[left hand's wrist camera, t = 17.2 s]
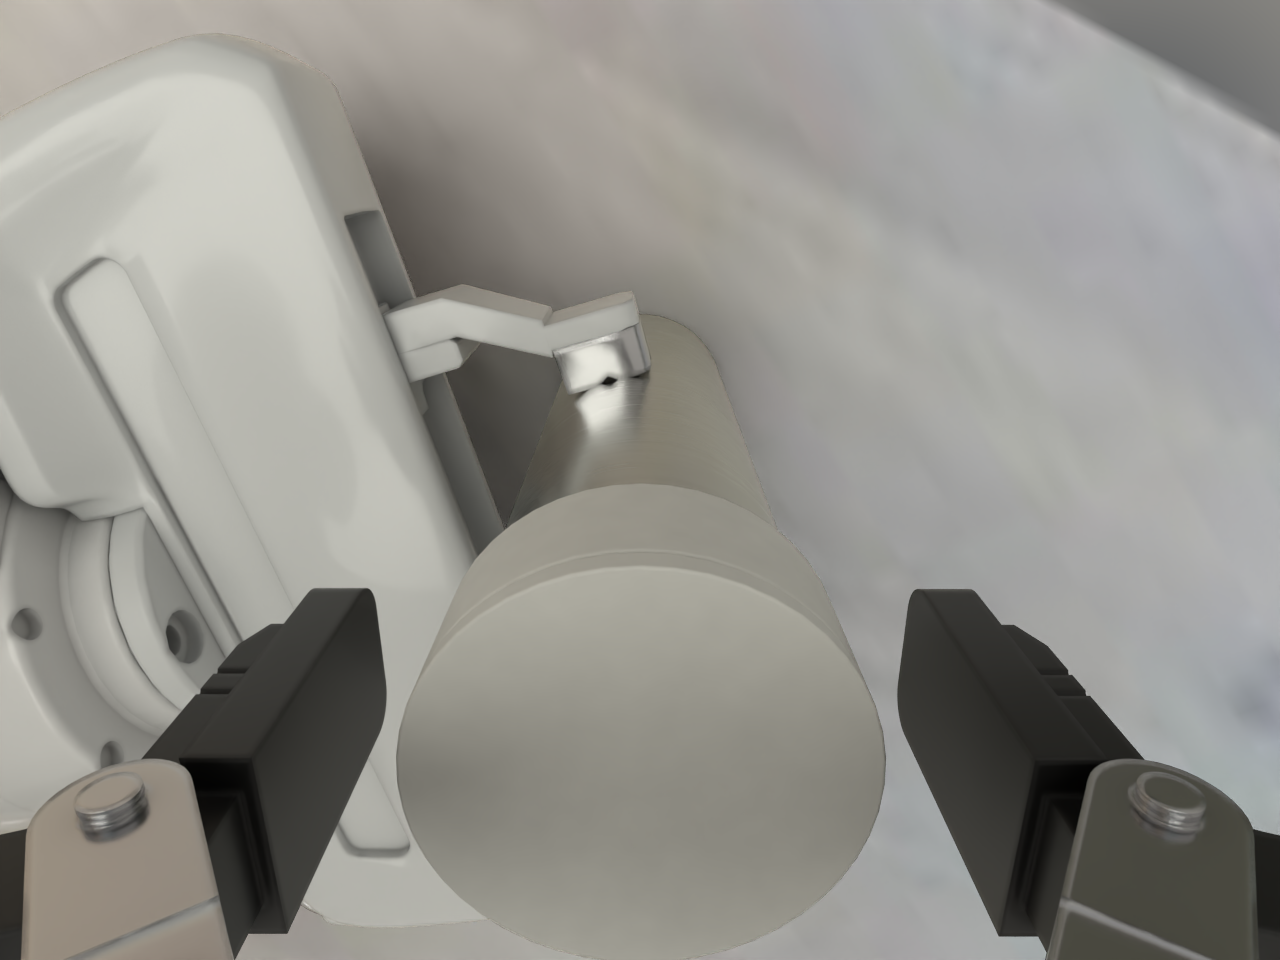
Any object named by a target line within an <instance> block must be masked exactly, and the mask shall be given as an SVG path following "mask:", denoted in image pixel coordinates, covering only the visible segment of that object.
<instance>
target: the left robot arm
mask: <svg viewBox="0 0 1280 960" xmlns="http://www.w3.org/2000/svg"><path fill="white" fill-rule="evenodd" d="M897 698H898V711H899V717H900V722H901V726H902V729H903V732H904V734H905V737H906V739H907V741H908V743H909V745H910V747H911V750H912V752H913V754H914V756H915V758H916V760H917V762H918V764H919V767H920V769H921V771H922V773H923V775H924V777H925V779H926V782H927V784H928V786H929V788H930V790H931V792H932V794H933V797H934V799H935V801H936V803H937V805H938V807H939V809H940V811H941V814H942V816H943V818H944V820H945V822H946V824H947V826H948V829H949V831H950V833H951V835H952V837H953V839H954V841H955V844H956V846H957V848H958V850H959V852H960V854H961V856H962V859H963V861H964V863H965V865H966V867H967V869H968V871H969V873H970V876H971V878H972V880H973V882H974V884H975V886H976V888H977V891H978V893H979V895H980V897H981V899H982V901H983V903H984V906H985V908H986V910H987V912H988V914H989V916H990V918H991V920H992V923H993V925H994V927H995V929H996V931H997V933H998V935H999V936H1038V937H1039V939H1040V941H1041V942H1042V944H1043V946H1044V948H1045V950H1046V952H1047V954H1046V958H1045V960H1280V835H1275V834H1270V833H1266V832H1262V831H1258V830H1254V829H1253V828H1252V826H1251V824H1250V822H1249V819H1248V818H1247V816H1246V815H1245V814H1244V812H1243V811H1242V810H1241V809H1240V808H1239V807H1238V805H1237V804H1236V803H1235V802H1234V801H1233V800H1231V799H1230V798H1229V797H1228V796H1227V795H1225V794H1224V793H1223V792H1221V791H1220V790H1219V789H1217V788H1216V787H1214V786H1213V785H1211V784H1209V783H1208V782H1206V781H1204V780H1202V779H1200V778H1199V777H1196V776H1194V775H1192V774H1190V773H1188V772H1185V771H1183V770H1180V769H1177V768H1175V767H1172V766H1169V765H1165V764H1162V763H1158V762H1153V761H1148V760H1144V759H1143V757H1142V756H1141V755H1140V754H1139V753H1138V751H1137V750H1136V749H1135V748H1134V747H1133V746H1132V744H1131V743H1130V742H1129V741H1128V740H1127V739H1126V737H1125V736H1124V735H1123V734H1122V733H1121V732H1120V730H1119V729H1118V728H1117V727H1116V726H1115V725H1114V723H1113V722H1112V721H1111V720H1110V719H1109V718H1108V716H1107V715H1106V714H1105V713H1104V712H1103V711H1102V709H1101V708H1100V707H1099V706H1098V705H1097V703H1096V702H1095V701H1094V700H1093V699H1092V698H1091V696H1086V693H1085V689H1084V688H1083V687H1082V686H1081V685H1080V684H1079V682H1078V681H1077V680H1076V679H1075V678H1074V677H1073V675H1068V670H1067V668H1066V667H1065V666H1064V665H1063V664H1062V663H1061V661H1060V660H1059V659H1058V658H1057V657H1056V656H1055V654H1054V653H1053V652H1052V651H1051V650H1050V648H1049V647H1048V646H1047V645H1045V644H1043V643H1042V642H1040V641H1039V640H1037V639H1036V638H1034V637H1032V636H1031V635H1029V634H1028V633H1026V632H1024V631H1023V630H1021V629H1020V628H1018V627H1016V626H1015V625H1001V624H1000V622H999V621H998V620H997V619H996V617H995V616H994V615H993V614H992V612H991V611H990V610H989V609H988V607H987V606H986V605H985V604H984V602H983V601H982V600H981V598H980V597H979V596H978V595H977V594H976V592H975V591H973V590H971V589H917V590H915V591H914V592H913V593H912V595H911V597H910V600H909V605H908V611H907V619H906V627H905V634H904V642H903V650H902V657H901V665H900V673H899V680H898V692H897ZM386 701H387V687H386V677H385V670H384V662H383V654H382V646H381V638H380V630H379V623H378V615H377V607H376V601H375V598H374V595H373V593H372V591H371V590H370V589H368V588H313V589H311V590H310V591H309V592H308V593H307V595H306V596H305V597H304V598H303V600H302V601H301V602H300V603H299V605H298V606H297V607H296V609H295V610H294V611H293V612H292V614H291V615H290V616H289V618H288V619H287V620H286V621H285V623H284V624H270V625H268V626H266V627H265V628H263V629H262V630H260V631H259V632H257V633H255V634H254V635H252V636H251V637H249V638H247V639H246V640H244V641H243V642H241V643H239V644H238V645H237V646H236V647H235V649H234V650H233V651H232V652H231V653H230V654H229V656H228V657H227V658H226V659H225V660H224V662H223V663H222V664H221V665H220V666H219V667H218V671H217V674H213V675H212V676H211V677H210V678H209V679H208V680H207V682H206V683H205V684H204V685H203V686H202V688H201V689H200V694H196V695H195V696H194V697H193V698H192V699H191V701H190V702H189V703H188V704H187V705H186V706H185V708H184V709H183V710H182V711H181V712H180V714H179V715H178V716H177V717H176V718H175V719H174V721H173V722H172V723H171V724H170V725H169V727H168V728H167V729H166V730H165V731H164V732H163V734H162V735H161V736H160V737H159V738H158V740H157V741H156V742H155V743H154V744H153V746H152V747H151V748H150V749H149V750H148V751H147V753H146V754H145V755H144V756H143V757H142V759H140V760H132V761H127V762H122V763H118V764H115V765H111V766H108V767H105V768H103V769H100V770H97V771H95V772H92V773H90V774H88V775H86V776H84V777H81V778H80V779H78V780H76V781H74V782H72V783H71V784H69V785H67V786H66V787H64V788H63V789H61V790H60V791H59V792H57V793H56V794H55V795H53V796H52V797H51V798H50V799H49V800H47V801H46V802H45V803H44V804H43V805H42V806H41V808H40V809H39V810H38V811H37V812H36V814H35V815H34V816H33V818H32V819H31V822H30V824H29V826H28V828H27V829H23V830H19V831H14V832H10V833H5V834H0V960H235V959H236V957H237V955H238V953H239V951H240V949H241V947H242V945H243V943H244V941H245V939H246V937H247V935H248V934H287V933H288V931H289V929H290V927H291V924H292V922H293V920H294V918H295V916H296V914H297V911H298V909H299V907H300V905H301V903H302V901H303V898H304V896H305V894H306V892H307V890H308V888H309V885H310V883H311V881H312V879H313V877H314V875H315V872H316V870H317V868H318V866H319V864H320V862H321V859H322V857H323V855H324V853H325V851H326V849H327V846H328V844H329V842H330V840H331V838H332V836H333V833H334V831H335V829H336V827H337V825H338V823H339V820H340V818H341V816H342V814H343V812H344V810H345V807H346V805H347V803H348V801H349V799H350V797H351V794H352V792H353V790H354V788H355V786H356V784H357V781H358V779H359V777H360V775H361V773H362V771H363V768H364V766H365V764H366V762H367V760H368V758H369V755H370V753H371V751H372V749H373V747H374V745H375V742H376V740H377V738H378V736H379V734H380V731H381V729H382V725H383V722H384V717H385V711H386Z"/></svg>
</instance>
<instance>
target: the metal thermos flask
mask: <svg viewBox="0 0 1280 960" xmlns="http://www.w3.org/2000/svg"><path fill="white" fill-rule="evenodd" d="M640 317H641V321H642V325H643V328H644V332H645V336H646V340H647V343H648V347H649V351H650V355H651V363H652V366H651V368H650V369H649V370H647V371H646V372H644V373H642V374H639V375H636V376H634V377H630V378H625V379H619V380H618V379H615V378H612V377H609V376H607V377H606V379H605V380H604V381H603V382H602V384H601V385H598V386H596V387H594V388H591V389H588V390H585V391H581V392H577V393H574V394H570V395H568V393H567V390H566V387H565V384H564V382H563V379H562V381H561V384H560V386H559V389H558V391H557V394H556V397H555V399H554V402H553V405H552V407H551V410H550V413H549V415H548V418H547V421H546V423H545V426H544V428H543V431H542V434H541V436H540V439H539V442H538V444H537V447H536V450H535V452H534V455H533V457H532V460H531V463H530V465H529V468H528V471H527V473H526V476H525V479H524V481H523V484H522V486H521V489H520V492H519V494H518V497H517V500H516V502H515V505H514V508H513V510H512V513H511V516H510V518H509V521H508V523H507V526H506V529H507V528H508V527H509V526H510V525H512V524H513V523H515V522H516V521H518V520H519V519H521V518H523V517H524V516H526V515H527V514H529V513H530V512H532V511H534V510H536V509H538V508H540V507H542V506H544V505H546V504H549V503H551V502H553V501H555V500H557V499H560V498H563V497H566V496H569V495H572V494H575V493H578V492H582V491H585V490H590V489H595V488H601V487H606V486H611V485H625V484H657V485H671V486H676V487H681V488H687V489H692V490H697V491H700V492H703V493H707V494H710V495H713V496H716V497H719V498H722V499H725V500H727V501H729V502H731V503H733V504H735V505H738V506H740V507H742V508H744V509H746V510H748V511H750V512H751V513H753V514H755V515H756V516H758V517H759V518H761V519H762V520H764V521H766V522H767V523H769V524H770V525H772V526H773V527H774V528H775V529H776V530H777V531H778V529H777V527H776V524H775V521H774V519H773V516H772V513H771V510H770V508H769V505H768V502H767V500H766V497H765V494H764V492H763V489H762V486H761V484H760V481H759V478H758V476H757V473H756V470H755V468H754V465H753V462H752V460H751V457H750V454H749V451H748V449H747V446H746V443H745V441H744V438H743V435H742V433H741V430H740V427H739V425H738V422H737V419H736V417H735V414H734V411H733V409H732V406H731V403H730V401H729V398H728V395H727V392H726V390H725V387H724V384H723V382H722V379H721V376H720V374H719V371H718V368H717V366H716V363H715V361H714V359H713V357H712V355H711V353H710V351H709V350H708V348H707V347H706V346H705V344H704V343H703V342H702V341H701V340H700V339H699V338H698V337H697V336H696V335H695V334H694V333H693V332H692V331H690V330H689V329H688V328H686V327H685V326H683V325H681V324H679V323H677V322H675V321H673V320H670V319H668V318H664V317H660V316H656V315H647V314H640ZM506 529H505V530H506Z"/></svg>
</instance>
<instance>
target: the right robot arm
mask: <svg viewBox="0 0 1280 960" xmlns="http://www.w3.org/2000/svg"><path fill="white" fill-rule="evenodd" d="M481 342H482V343H486V344H491V345H495V346H500V347H505V348H509V349H514V350H518V351H523V352H527V353H532V354H537V355H541V356H546V357H550V358H553V357H554V356H555V359H556V362H557V365H558V367H559V370H560V373H561V376H562V379H563V382H564V384H565V387H566V390H567V393H568V395H570V394H574V393H577V392H581V391H585V390H588V389H591V388H594V387H596V386H598V385H601V384H602V382H603V381H604V380H605V379H606V377H607V376H609V377H612V378H615V379H618V380H619V379H625V378H630V377H634V376H636V375H639V374H642V373H644V372H646V371H647V370H649V369H650V368H651V366H652V363H651V355H650V351H649V347H648V343H647V340H646V336H645V332H644V328H643V325H642V321H641V317H640V314H639V310H638V307H637V304H636V300H635V297H634V294H633V291H627V292H620V293H616V294H612V295H609V296H605V297H602V298H598V299H595V300H592V301H588V302H585V303H581V304H578V305H575V306H571V307H568V308H564V309H561V310H558V311H554V312H553V310H552V308H551V306H548V305H544V304H540V303H536V302H532V301H528V300H525V299H521V298H517V297H513V296H509V295H505V294H501V293H497V292H493V291H489V290H485V289H481V288H477V287H473V286H470V285H466V284H460V285H457V286H454V287H450V288H447V289H444V290H440V291H437V292H434V293H430V294H427V295H424V296H420V297H416V295H415V292H414V289H413V287H412V284H411V282H410V279H409V276H408V274H407V271H406V268H405V266H404V263H403V261H402V258H401V255H400V253H399V250H398V247H397V245H396V242H395V239H394V237H393V234H392V232H391V229H390V226H389V224H388V221H387V218H386V216H385V213H384V211H383V208H382V205H381V203H380V200H379V197H378V195H377V192H376V190H375V187H374V184H373V182H372V179H371V177H370V174H369V171H368V169H367V166H366V163H365V161H364V158H363V156H362V153H361V150H360V148H359V145H358V142H357V140H356V137H355V135H354V132H353V129H352V127H351V124H350V121H349V118H348V116H347V113H346V110H345V108H344V105H343V102H342V100H341V97H340V95H339V93H338V91H337V88H336V87H335V85H334V84H333V82H332V81H331V80H330V79H329V78H328V77H327V76H326V75H325V74H324V73H322V72H321V71H319V70H317V69H315V68H313V67H312V66H310V65H308V64H306V63H304V62H302V61H300V60H298V59H297V58H295V57H293V56H291V55H289V54H287V53H285V52H283V51H280V50H278V49H276V48H273V47H271V46H269V45H266V44H264V43H261V42H258V41H256V40H252V39H248V38H244V37H240V36H234V35H227V34H219V33H214V34H198V35H193V36H187V37H182V38H179V39H176V40H173V41H170V42H167V43H164V44H161V45H158V46H155V47H152V48H149V49H147V50H144V51H141V52H139V53H136V54H134V55H131V56H129V57H126V58H124V59H121V60H118V61H116V62H114V63H111V64H109V65H107V66H105V67H102V68H100V69H98V70H95V71H93V72H91V73H88V74H86V75H84V76H82V77H79V78H77V79H75V80H73V81H71V82H69V83H67V84H65V85H62V86H60V87H58V88H56V89H54V90H52V91H50V92H48V93H46V94H44V95H42V96H40V97H38V98H36V99H34V100H32V101H30V102H28V103H26V104H25V105H23V106H21V107H19V108H17V109H15V110H13V111H11V112H9V113H8V114H6V115H4V116H2V117H1V118H0V834H5V833H10V832H14V831H19V830H23V829H27V828H28V826H29V824H30V822H31V819H32V818H33V816H34V815H35V814H36V812H37V811H38V810H39V809H40V808H41V806H42V805H43V804H44V803H45V802H46V801H47V800H49V799H50V798H51V797H52V796H53V795H55V794H56V793H57V792H59V791H60V790H61V789H63V788H64V787H66V786H67V785H69V784H71V783H72V782H74V781H76V780H78V779H80V778H81V777H84V776H86V775H88V774H90V773H92V772H95V771H97V770H100V769H103V768H105V767H108V766H111V765H115V764H118V763H122V762H127V761H132V760H140V759H142V757H143V756H144V755H145V754H146V753H147V751H148V750H149V749H150V748H151V747H152V746H153V744H154V743H155V742H156V741H157V740H158V738H159V737H160V736H161V735H162V734H163V732H164V731H165V730H166V729H167V728H168V727H169V725H170V724H171V723H172V722H173V721H174V719H175V718H176V717H177V716H178V715H179V714H180V712H181V711H182V710H183V709H184V708H185V706H186V705H187V704H188V703H189V702H190V701H191V699H192V698H193V697H194V696H195V695H196V694H200V689H201V688H202V686H203V685H204V684H205V683H206V682H207V680H208V679H209V678H210V677H211V676H212V675H213V674H217V671H218V667H219V666H220V665H221V664H222V663H223V662H224V660H225V659H226V658H227V657H228V656H229V654H230V653H231V652H232V651H233V650H234V649H235V647H236V646H237V645H238V644H239V643H241V642H243V641H244V640H246V639H247V638H249V637H251V636H252V635H254V634H255V633H257V632H259V631H260V630H262V629H263V628H265V627H266V626H268V625H270V624H284V623H285V621H286V620H287V619H288V618H289V616H290V615H291V614H292V612H293V611H294V610H295V609H296V607H297V606H298V605H299V603H300V602H301V601H302V600H303V598H304V597H305V596H306V595H307V593H308V592H309V591H310V590H311V589H313V588H368V589H370V590H371V591H372V593H373V595H374V598H375V601H376V607H377V615H378V623H379V630H380V638H381V646H382V654H383V662H384V670H385V677H386V687H387V701H386V711H385V717H384V722H383V725H382V729H381V731H380V734H379V736H378V738H377V740H376V742H375V745H374V747H373V749H372V751H371V753H370V755H369V758H368V760H367V762H366V764H365V766H364V768H363V771H362V773H361V775H360V777H359V779H358V781H357V784H356V786H355V788H354V790H353V792H352V794H351V797H350V799H349V801H348V803H347V805H346V807H345V810H344V812H343V814H342V816H341V818H340V820H339V823H338V825H337V827H336V829H335V831H334V833H333V836H332V838H331V840H330V842H329V844H328V846H327V849H326V851H325V853H324V855H323V857H322V859H321V862H320V864H319V866H318V868H317V870H316V872H315V875H314V877H313V879H312V881H311V883H310V885H309V888H308V890H307V892H306V894H305V896H304V898H303V901H302V903H301V906H303V907H304V908H306V909H308V910H310V911H312V912H314V913H317V914H319V915H321V916H322V917H323V919H324V920H325V921H326V922H328V923H330V924H334V925H350V926H357V927H369V928H403V927H418V926H433V925H443V924H453V923H463V922H473V921H481V920H489V919H488V918H486V917H485V916H483V915H481V914H480V913H479V912H477V911H476V910H475V909H474V908H472V907H471V906H470V905H469V904H467V903H466V902H465V901H464V900H462V899H461V898H460V897H459V896H458V895H457V894H456V893H455V892H454V891H453V890H452V889H451V888H450V887H449V886H448V885H447V884H446V883H445V882H444V881H443V880H442V879H441V878H440V877H439V875H438V874H437V873H436V871H435V870H434V869H433V867H432V866H431V865H430V863H429V862H428V861H427V859H426V858H425V857H424V855H423V853H422V851H421V850H420V848H419V846H418V844H417V842H416V841H415V839H414V837H413V835H412V833H411V830H410V828H409V825H408V822H407V820H406V817H405V814H404V812H403V808H402V804H401V799H400V794H399V789H398V785H397V769H396V752H397V743H398V735H399V729H400V725H401V722H402V718H403V715H404V711H405V708H406V705H407V702H408V700H409V698H410V695H411V693H412V691H413V689H414V687H415V684H416V682H417V679H418V677H419V675H420V673H421V670H422V668H423V666H424V664H425V661H426V659H427V657H428V654H429V652H430V650H431V648H432V645H433V643H434V641H435V638H436V636H437V634H438V632H439V629H440V627H441V625H442V623H443V620H444V618H445V616H446V613H447V611H448V609H449V607H450V604H451V602H452V600H453V598H454V596H455V593H456V591H457V589H458V587H459V585H460V583H461V581H462V579H463V577H464V576H465V574H466V573H467V571H468V570H469V568H470V567H471V565H472V564H473V562H474V561H475V559H476V558H477V557H478V556H479V555H480V554H481V553H482V552H483V551H484V549H485V548H486V547H487V546H488V545H489V544H490V543H491V542H492V541H493V540H494V539H495V538H496V537H497V536H499V535H500V534H501V533H502V532H503V531H504V530H505V529H504V526H503V523H502V521H501V518H500V516H499V513H498V510H497V508H496V505H495V502H494V500H493V497H492V495H491V492H490V489H489V487H488V484H487V481H486V479H485V476H484V473H483V471H482V468H481V466H480V463H479V460H478V458H477V455H476V452H475V450H474V447H473V445H472V442H471V439H470V437H469V434H468V431H467V429H466V426H465V424H464V421H463V418H462V416H461V413H460V410H459V408H458V405H457V402H456V400H455V397H454V395H453V392H452V389H451V387H450V384H449V381H448V379H447V376H446V374H445V372H447V371H450V370H454V369H457V368H460V367H461V366H462V365H463V364H464V362H465V361H466V360H467V359H468V358H469V357H470V356H471V354H472V353H473V352H474V351H475V350H476V349H477V348H478V347H479V345H480V343H481Z"/></svg>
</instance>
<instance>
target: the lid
mask: <svg viewBox="0 0 1280 960" xmlns="http://www.w3.org/2000/svg"><path fill="white" fill-rule="evenodd" d="M885 766H886V755H885V746H884V737H883V730H882V727H881V723H880V720H879V716H878V713H877V709H876V706H875V703H874V701H873V699H872V697H871V694H870V692H869V690H868V688H867V685H866V683H865V680H864V678H863V676H862V673H861V671H860V669H859V666H858V664H857V662H856V660H855V657H854V655H853V653H852V650H851V648H850V646H849V643H848V641H847V639H846V636H845V634H844V632H843V629H842V627H841V625H840V623H839V620H838V618H837V616H836V613H835V611H834V609H833V606H832V604H831V602H830V600H829V597H828V595H827V593H826V591H825V589H824V587H823V585H822V582H821V580H820V579H819V577H818V576H817V574H816V573H815V571H814V570H813V568H812V567H811V565H810V564H809V562H808V561H807V559H806V558H805V557H804V556H803V555H802V554H801V553H800V552H799V550H798V549H797V548H796V547H795V546H794V545H793V544H792V543H791V542H790V541H789V540H788V539H787V538H786V537H785V536H783V535H782V534H781V533H780V532H779V531H777V530H776V529H775V528H774V527H773V526H772V525H770V524H769V523H767V522H766V521H764V520H762V519H761V518H759V517H758V516H756V515H755V514H753V513H751V512H750V511H748V510H746V509H744V508H742V507H740V506H738V505H735V504H733V503H731V502H729V501H727V500H725V499H722V498H719V497H716V496H713V495H710V494H707V493H703V492H700V491H697V490H692V489H687V488H681V487H676V486H671V485H657V484H625V485H611V486H606V487H601V488H595V489H590V490H585V491H582V492H578V493H575V494H572V495H569V496H566V497H563V498H560V499H557V500H555V501H553V502H551V503H549V504H546V505H544V506H542V507H540V508H538V509H536V510H534V511H532V512H530V513H529V514H527V515H526V516H524V517H523V518H521V519H519V520H518V521H516V522H515V523H513V524H512V525H510V526H509V527H508V528H507V529H506V530H504V531H503V532H502V533H501V534H500V535H499V536H497V537H496V538H495V539H494V540H493V541H492V542H491V543H490V544H489V545H488V546H487V547H486V548H485V549H484V551H483V552H482V553H481V554H480V555H479V556H478V557H477V558H476V559H475V561H474V562H473V564H472V565H471V567H470V568H469V570H468V571H467V573H466V574H465V576H464V577H463V579H462V581H461V583H460V585H459V587H458V589H457V591H456V593H455V596H454V598H453V600H452V602H451V604H450V607H449V609H448V611H447V613H446V616H445V618H444V620H443V623H442V625H441V627H440V629H439V632H438V634H437V636H436V638H435V641H434V643H433V645H432V648H431V650H430V652H429V654H428V657H427V659H426V661H425V664H424V666H423V668H422V670H421V673H420V675H419V677H418V679H417V682H416V684H415V687H414V689H413V691H412V693H411V695H410V698H409V700H408V702H407V705H406V708H405V711H404V715H403V718H402V722H401V725H400V729H399V735H398V743H397V752H396V769H397V785H398V789H399V794H400V799H401V804H402V808H403V812H404V814H405V817H406V820H407V822H408V825H409V828H410V830H411V833H412V835H413V837H414V839H415V841H416V842H417V844H418V846H419V848H420V850H421V851H422V853H423V855H424V857H425V858H426V859H427V861H428V862H429V863H430V865H431V866H432V867H433V869H434V870H435V871H436V873H437V874H438V875H439V877H440V878H441V879H442V880H443V881H444V882H445V883H446V884H447V885H448V886H449V887H450V888H451V889H452V890H453V891H454V892H455V893H456V894H457V895H458V896H459V897H460V898H461V899H462V900H464V901H465V902H466V903H467V904H469V905H470V906H471V907H472V908H474V909H475V910H476V911H477V912H479V913H480V914H481V915H483V916H485V917H486V918H488V919H489V920H491V921H493V922H494V923H496V924H498V925H499V926H501V927H502V928H504V929H506V930H508V931H510V932H512V933H514V934H516V935H519V936H521V937H523V938H525V939H527V940H529V941H532V942H535V943H537V944H540V945H543V946H546V947H548V948H551V949H554V950H557V951H561V952H565V953H569V954H573V955H577V956H581V957H587V958H594V959H601V960H682V959H689V958H696V957H701V956H705V955H709V954H713V953H717V952H722V951H726V950H728V949H731V948H734V947H737V946H740V945H743V944H746V943H748V942H751V941H754V940H756V939H758V938H760V937H762V936H764V935H766V934H768V933H770V932H773V931H775V930H777V929H779V928H780V927H782V926H783V925H785V924H787V923H788V922H790V921H792V920H793V919H795V918H796V917H798V916H800V915H801V914H802V913H804V912H805V911H806V910H808V909H809V908H810V907H811V906H813V905H814V904H815V903H816V902H818V901H819V900H820V899H821V898H823V897H824V896H825V895H826V894H827V893H828V892H829V891H830V890H831V889H832V888H833V887H834V886H835V885H836V884H837V882H838V881H839V880H840V879H841V878H842V877H843V876H844V874H845V873H846V872H847V870H848V869H849V868H850V866H851V865H852V864H853V863H854V861H855V860H856V859H857V857H858V855H859V853H860V852H861V850H862V848H863V846H864V845H865V843H866V841H867V839H868V837H869V836H870V833H871V831H872V828H873V825H874V823H875V820H876V817H877V815H878V812H879V808H880V803H881V799H882V794H883V789H884V785H885Z"/></svg>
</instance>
